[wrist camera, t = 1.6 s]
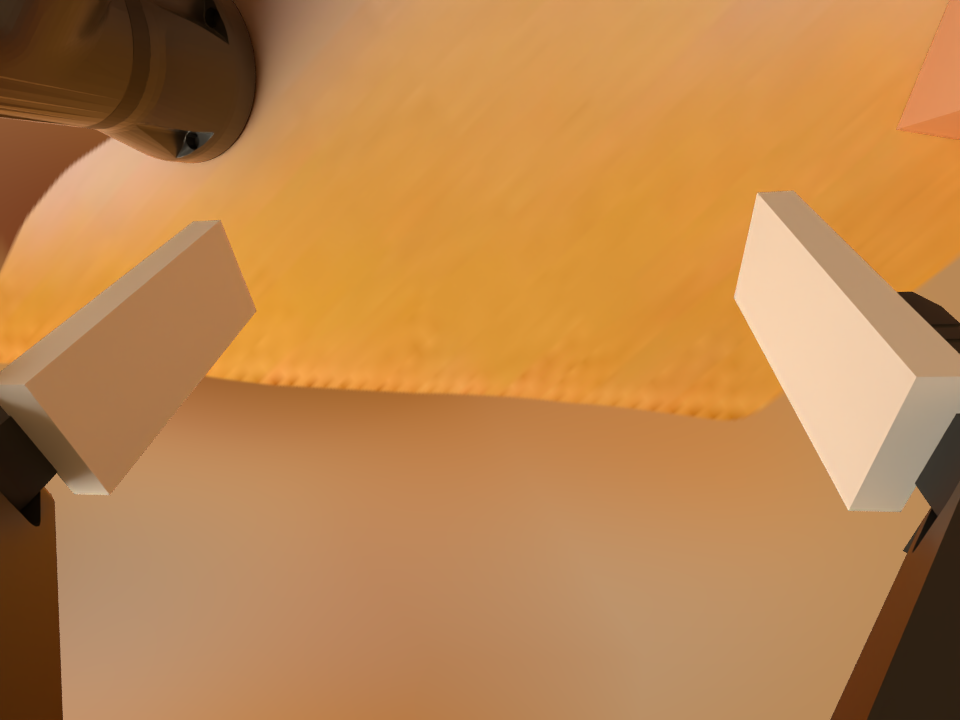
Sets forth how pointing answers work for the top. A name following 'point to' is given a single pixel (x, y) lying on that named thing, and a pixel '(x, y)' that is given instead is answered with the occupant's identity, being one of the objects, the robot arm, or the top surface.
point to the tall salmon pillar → (938, 83)
